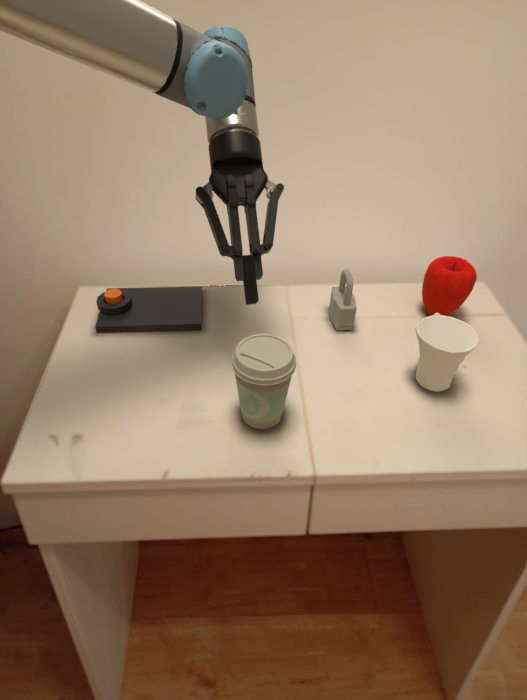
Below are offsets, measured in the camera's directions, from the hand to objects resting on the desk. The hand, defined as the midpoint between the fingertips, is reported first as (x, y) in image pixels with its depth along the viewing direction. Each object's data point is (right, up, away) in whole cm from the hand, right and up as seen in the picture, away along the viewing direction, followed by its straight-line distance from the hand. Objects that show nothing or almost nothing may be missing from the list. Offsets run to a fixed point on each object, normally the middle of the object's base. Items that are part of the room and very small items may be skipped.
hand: (252, 302), depth 66 cm
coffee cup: (+1, -16, +2) cm, 16 cm away
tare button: (-25, +2, +18) cm, 31 cm away
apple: (+35, 0, +23) cm, 42 cm away
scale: (-19, 0, +20) cm, 28 cm away
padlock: (+16, -1, +20) cm, 26 cm away
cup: (+28, -12, +9) cm, 32 cm away
